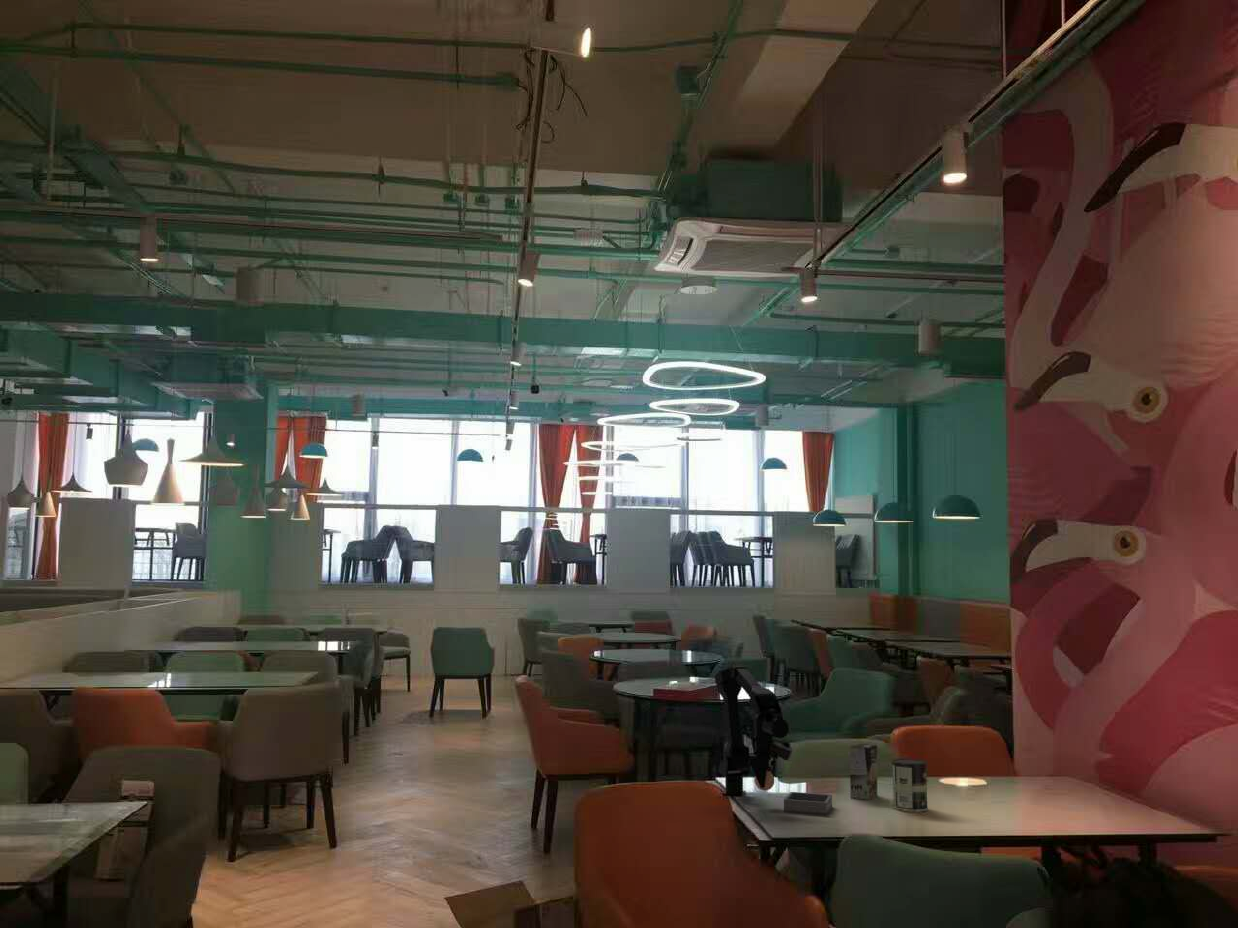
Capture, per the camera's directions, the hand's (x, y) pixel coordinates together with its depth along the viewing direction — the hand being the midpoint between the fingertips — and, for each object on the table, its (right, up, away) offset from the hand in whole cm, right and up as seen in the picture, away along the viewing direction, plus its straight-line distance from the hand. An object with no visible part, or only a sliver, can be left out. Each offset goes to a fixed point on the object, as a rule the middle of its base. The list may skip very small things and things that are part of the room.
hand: (764, 785), depth 308 cm
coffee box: (+35, -9, +17) cm, 39 cm away
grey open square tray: (+13, -6, -3) cm, 14 cm away
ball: (0, +2, 0) cm, 2 cm away
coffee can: (+45, -7, 0) cm, 45 cm away
